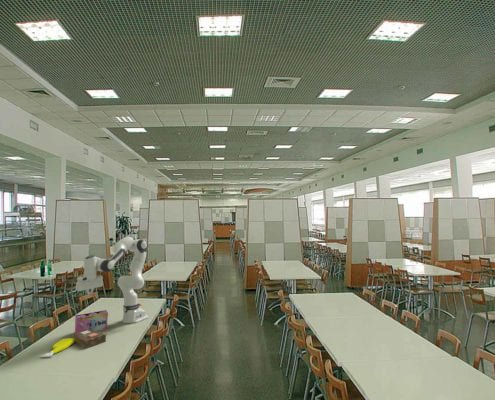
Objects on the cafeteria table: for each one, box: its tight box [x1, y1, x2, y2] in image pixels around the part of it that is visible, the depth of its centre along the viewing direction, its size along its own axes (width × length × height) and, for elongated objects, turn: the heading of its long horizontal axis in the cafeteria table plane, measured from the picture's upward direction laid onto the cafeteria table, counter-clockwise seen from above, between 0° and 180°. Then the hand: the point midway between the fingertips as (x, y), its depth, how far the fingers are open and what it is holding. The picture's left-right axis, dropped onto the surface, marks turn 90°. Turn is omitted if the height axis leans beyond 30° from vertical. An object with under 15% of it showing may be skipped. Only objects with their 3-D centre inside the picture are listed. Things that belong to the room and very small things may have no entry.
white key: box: [80, 330, 91, 335], centre depth 227 cm, size 5×5×4 cm
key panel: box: [71, 329, 107, 349], centre depth 224 cm, size 14×20×5 cm
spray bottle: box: [39, 337, 75, 358], centre depth 211 cm, size 3×11×24 cm
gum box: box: [74, 309, 109, 334], centre depth 247 cm, size 24×8×14 cm, turn 126°
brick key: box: [87, 333, 98, 338], centre depth 221 cm, size 5×5×4 cm
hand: (89, 294), depth 239 cm, fingers closed
